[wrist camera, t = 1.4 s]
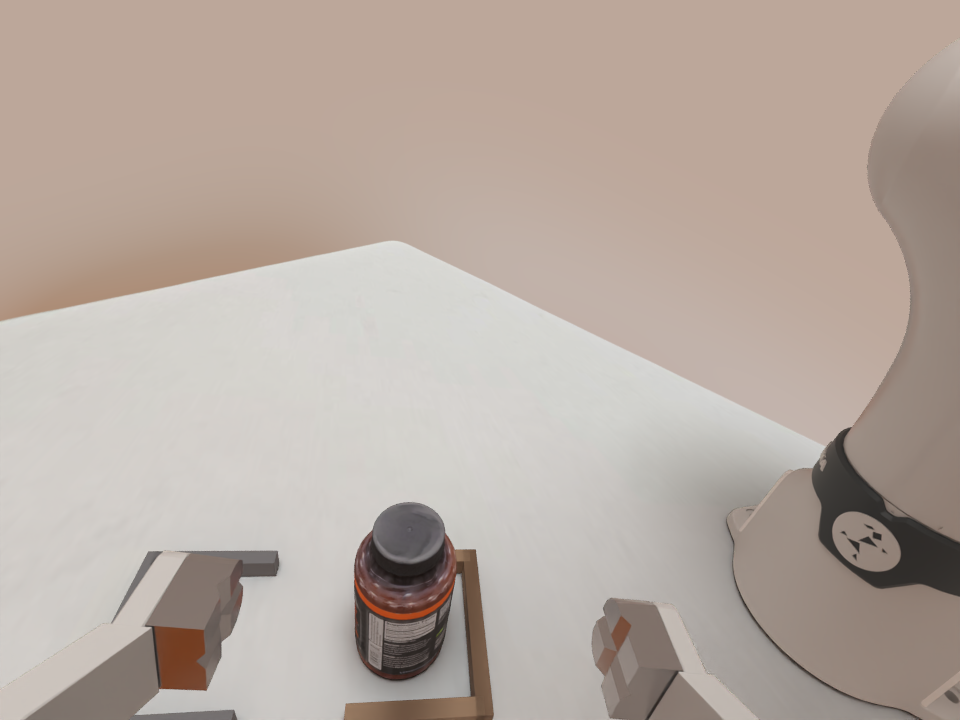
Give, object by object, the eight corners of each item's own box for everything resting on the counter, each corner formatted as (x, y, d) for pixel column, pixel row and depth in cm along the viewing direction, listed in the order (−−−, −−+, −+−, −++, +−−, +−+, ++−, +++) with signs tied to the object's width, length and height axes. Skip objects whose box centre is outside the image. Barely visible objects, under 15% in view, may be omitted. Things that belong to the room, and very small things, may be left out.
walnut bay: (473, 561, 38) (475, 549, 38) (489, 725, 29) (493, 714, 28) (362, 562, 37) (362, 550, 36) (343, 735, 28) (343, 724, 27)
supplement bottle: (363, 590, 35) (365, 481, 29) (446, 596, 36) (464, 490, 30) (345, 681, 30) (342, 573, 24) (441, 686, 31) (462, 582, 25)
